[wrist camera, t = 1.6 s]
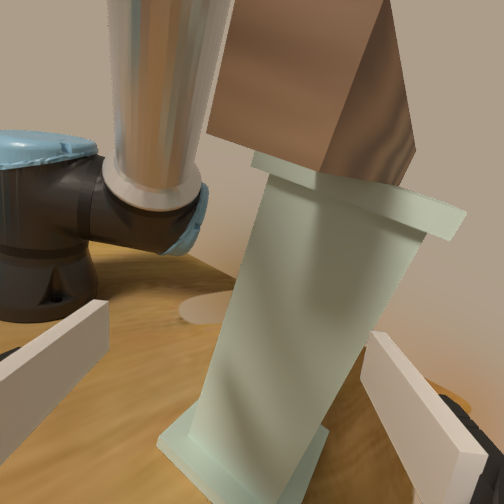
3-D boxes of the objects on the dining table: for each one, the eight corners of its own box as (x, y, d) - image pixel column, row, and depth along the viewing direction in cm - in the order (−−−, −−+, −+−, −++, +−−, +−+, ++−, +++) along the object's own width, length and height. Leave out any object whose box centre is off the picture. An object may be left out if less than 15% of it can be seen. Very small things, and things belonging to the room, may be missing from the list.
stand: (274, 566, 23) (497, 222, 12) (156, 446, 29) (236, 135, 18) (324, 438, 35) (460, 206, 24) (234, 371, 40) (311, 157, 29)
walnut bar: (319, 172, 7) (388, -12, 5) (206, 133, 8) (239, -21, 7) (398, 186, 29) (415, 150, 27) (364, 175, 30) (379, 140, 29)
